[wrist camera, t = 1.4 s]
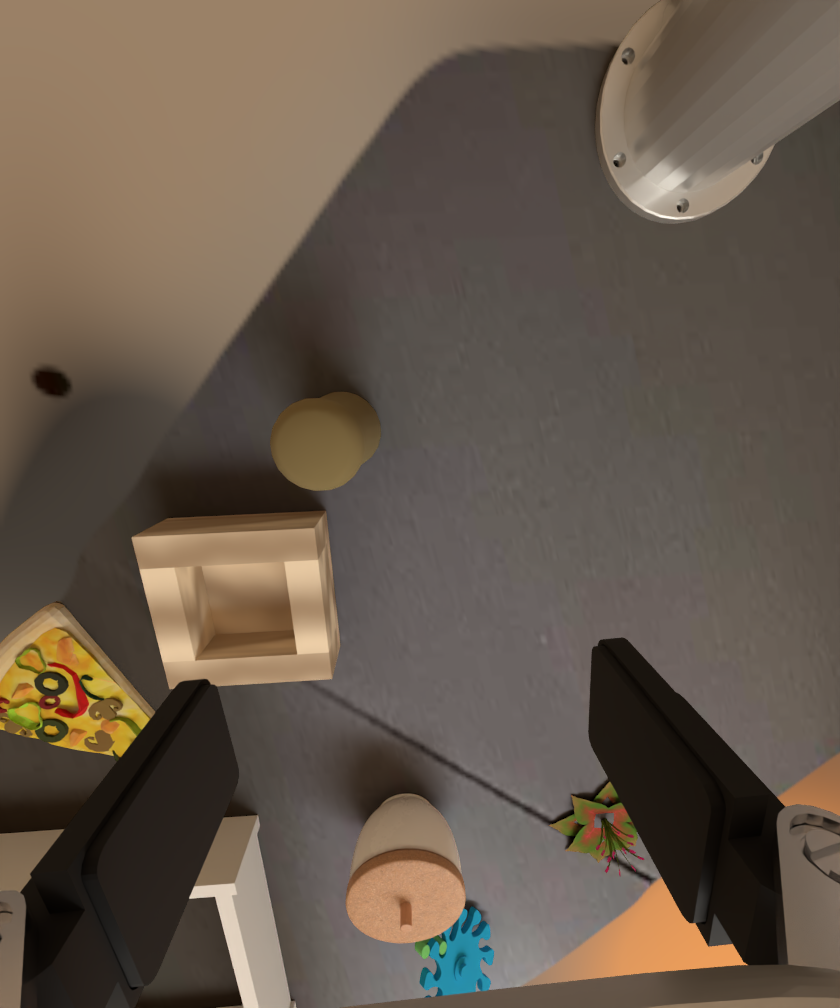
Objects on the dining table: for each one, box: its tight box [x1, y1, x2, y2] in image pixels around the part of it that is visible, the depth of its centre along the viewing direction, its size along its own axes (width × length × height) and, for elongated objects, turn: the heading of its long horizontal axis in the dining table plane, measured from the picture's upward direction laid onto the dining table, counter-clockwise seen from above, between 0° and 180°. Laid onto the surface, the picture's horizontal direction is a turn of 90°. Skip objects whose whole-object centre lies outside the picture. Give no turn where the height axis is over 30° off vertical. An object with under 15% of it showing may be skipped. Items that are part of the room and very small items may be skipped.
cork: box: [270, 392, 381, 491], centre depth 26 cm, size 6×6×11 cm
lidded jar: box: [346, 793, 466, 943], centre depth 38 cm, size 11×11×9 cm
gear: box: [415, 906, 494, 998], centre depth 45 cm, size 11×6×10 cm
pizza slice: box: [0, 601, 155, 761], centre depth 36 cm, size 16×21×3 cm
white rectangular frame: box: [0, 815, 296, 1008], centre depth 42 cm, size 33×35×6 cm
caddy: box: [132, 511, 340, 689], centre depth 32 cm, size 13×13×4 cm
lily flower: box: [548, 782, 644, 875], centre depth 42 cm, size 12×12×5 cm
